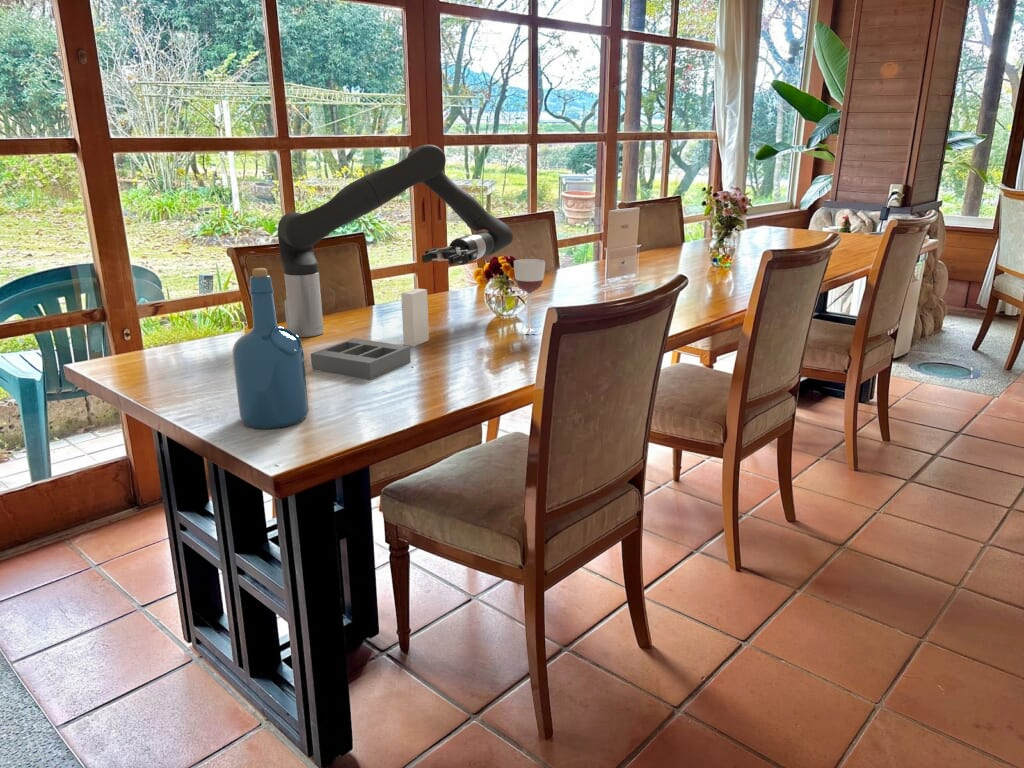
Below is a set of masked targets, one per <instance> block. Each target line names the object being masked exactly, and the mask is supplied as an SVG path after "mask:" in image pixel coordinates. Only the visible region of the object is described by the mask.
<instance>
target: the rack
mask: <svg viewBox="0 0 1024 768" xmlns="http://www.w3.org/2000/svg"><path fill="white" fill-rule="evenodd" d="M310 360H311V370H312V369H313V371H317V370H318V371H319V372H324V373H329V374H336V375H341V376H348V377H353V378H359V379H364V380H370V381H371V380H373V379H376V378H378V377H380V376H383V375H385V374H387V373H389V372H392V371H394V370H395V369H398V368H400V367H403V366H405V365H407V364H410V363H411V361H412V360H411V346H408V345H404V344H403V345H401V344H395V343H390V342H389V343H388V342H383V341H374V340H368V339H361V338H354V337H353V338H351V339H350V338H349V339H347V340H345V341H342V342H338V343H336V344H333V345H331V346H328V347H325V348H322V349H320V350H317V351H313V352H312V353H310Z"/></svg>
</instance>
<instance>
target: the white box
mask: <svg viewBox="0 0 1024 768" xmlns="http://www.w3.org/2000/svg"><path fill="white" fill-rule="evenodd" d="M400 295H401V312H402V313H401V315H402V316H401V317H402V319H401V320H402V335H403V336H402V338H403V339H402V340H403V345H404V346H410V347H416V346H419V345H422V344H423V343H426V342H428V341H429V340H430V336H429V335H430V334H429V333H430V332H429V329H430V328H429V309H428V308H429V307H428V305H429V304H428V289H425V288H413V289H409V290H406V291H404V292H401V293H400Z"/></svg>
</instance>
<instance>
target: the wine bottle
mask: <svg viewBox="0 0 1024 768" xmlns="http://www.w3.org/2000/svg"><path fill="white" fill-rule="evenodd" d="M251 274H252V275H251V276H250V277H249V294H250V296H251V310H252V314H251V315H252V325H253V326H252V328H251V330H250V331H249V332H247V333H245V334H244V335H241V337H239V338H238V339H237V340H236V341H235V343H234V344H233V347H232V350H231V353H232V361H233V362H232V363H233V369H234V370H233V371H234V378H235V386H236V394H237V405H238V410H239V416H240V417H239V418H240V421H241V422H242V424H243V425H244V426H247V427H250V428H253V429H271V430H272V429H277V428H285V427H290V426H292V425H295V424H297V423H300V422H302V421H303V420H304V419H305V418H306V417H307V416H308V414H309V409H310V408H309V401H308V389H307V377H306V365H305V356H304V354H305V353H304V348H303V343H302V340H301V337H298V336H297V335H296V334H295V333H293V332H292V331H290V330H288V329H287V327H283V326H278V322H277V314H276V313H277V312H276V306H275V298H274V293H275V290H274V287H273V282H272V277H271V275H270V274H268V269H267V268H265V267H256V268H253V269H251Z"/></svg>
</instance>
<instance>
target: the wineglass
mask: <svg viewBox="0 0 1024 768" xmlns="http://www.w3.org/2000/svg"><path fill="white" fill-rule="evenodd" d="M545 269H546V261H545V260H543V259H538V258H521V259H516V260H513V270H514V277H515V283H516V285H517V287H518V288H519V289H520V290H522V291H524V292H526V293H527V328H523V329H524V330H522V331H523V332H531V331H535V330H533V329H534V328H531V323H532V321H531V319H532V317H531V316H532V315H531V310H532V308H531V307H532V306H531V305H532V303H531V302H532V299H531V297H532V295H531V294H532V293H533V292H535V291H537V290H538V289H540V288H541V287H542V285H543V282H544V278H545V271H546V270H545Z"/></svg>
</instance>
